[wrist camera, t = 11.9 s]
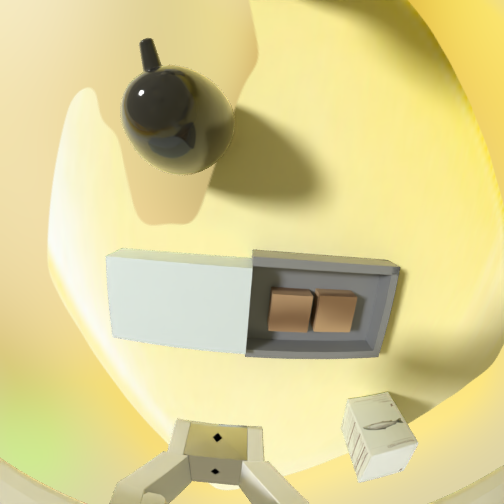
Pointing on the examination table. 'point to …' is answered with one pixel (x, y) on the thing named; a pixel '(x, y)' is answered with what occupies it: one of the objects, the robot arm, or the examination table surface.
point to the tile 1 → (289, 309)
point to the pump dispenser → (175, 116)
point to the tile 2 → (333, 310)
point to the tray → (311, 277)
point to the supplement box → (377, 436)
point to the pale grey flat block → (180, 299)
